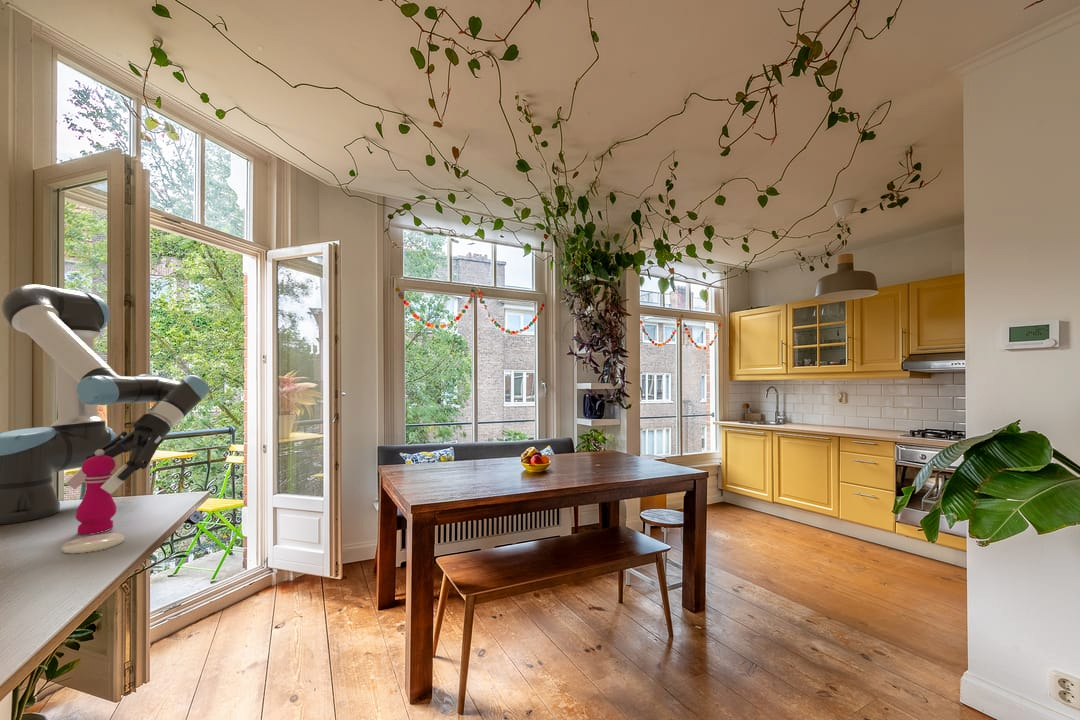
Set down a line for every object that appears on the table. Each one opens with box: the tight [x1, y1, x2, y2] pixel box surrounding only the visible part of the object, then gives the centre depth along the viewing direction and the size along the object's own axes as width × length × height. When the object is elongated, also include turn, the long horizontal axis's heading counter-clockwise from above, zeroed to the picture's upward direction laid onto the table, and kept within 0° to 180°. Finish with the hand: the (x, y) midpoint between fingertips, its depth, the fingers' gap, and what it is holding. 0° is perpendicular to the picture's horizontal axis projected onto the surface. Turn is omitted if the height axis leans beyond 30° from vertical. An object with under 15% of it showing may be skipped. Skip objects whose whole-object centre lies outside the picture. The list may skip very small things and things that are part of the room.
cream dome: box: [61, 532, 125, 555], centre depth 103 cm, size 10×10×1 cm
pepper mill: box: [75, 449, 117, 535], centre depth 113 cm, size 7×7×20 cm
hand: (87, 488), depth 111 cm, fingers open, 13 cm apart
